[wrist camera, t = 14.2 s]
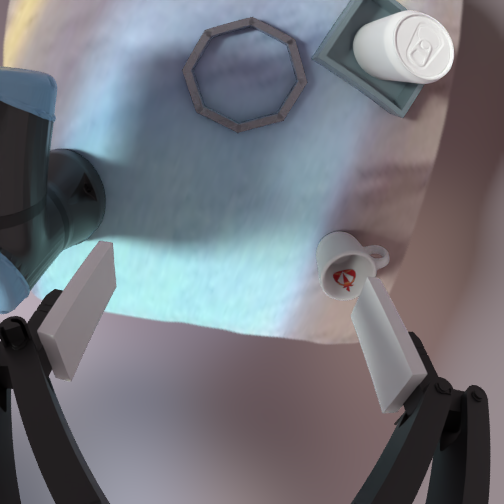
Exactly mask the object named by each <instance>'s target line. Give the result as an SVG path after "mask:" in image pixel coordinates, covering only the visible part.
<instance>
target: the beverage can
mask: <svg viewBox="0 0 504 504" xmlns="http://www.w3.org/2000/svg"><path fill="white" fill-rule="evenodd" d="M353 51H354V55H355V58H356V60H357V62H358V64H359V65H360V67H361V68H362V69H363V70H364V71H365V72H366V73H368V74H369V75H371V76H372V77H375V78H377V79H381V80H391V81H402V82H411V83H419V84H428V83H433V82H435V81H437V80H439V79H440V78H442V77H443V76H444V75H446V74H447V73H448V71H449V70H450V68H451V66H452V64H453V60H454V48H453V43H452V40H451V38H450V36H449V34H448V32H447V30H446V29H445V28H444V27H443V25H442V24H441V23H440V22H438V21H437V20H436V19H434V18H433V17H431V16H429V15H426V14H424V13H421V12H418V11H412V10H407V11H402V12H398V13H395V14H392V15H390V16H387V17H384V18H381V19H378V20H376V21H373V22H370V23H368V24H366V25H364V26H362V27H361V28H360V29H359V30H358V31H357V33H356V35H355V37H354V41H353Z"/></svg>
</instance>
